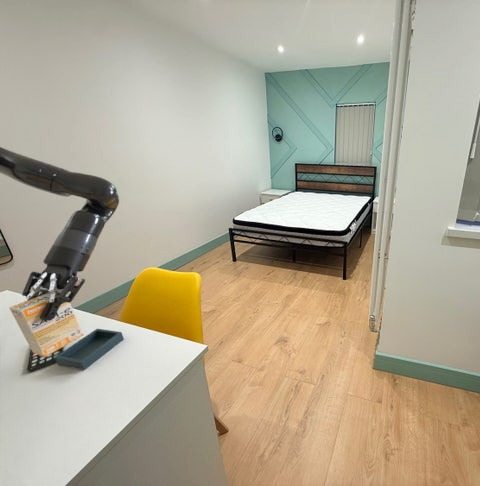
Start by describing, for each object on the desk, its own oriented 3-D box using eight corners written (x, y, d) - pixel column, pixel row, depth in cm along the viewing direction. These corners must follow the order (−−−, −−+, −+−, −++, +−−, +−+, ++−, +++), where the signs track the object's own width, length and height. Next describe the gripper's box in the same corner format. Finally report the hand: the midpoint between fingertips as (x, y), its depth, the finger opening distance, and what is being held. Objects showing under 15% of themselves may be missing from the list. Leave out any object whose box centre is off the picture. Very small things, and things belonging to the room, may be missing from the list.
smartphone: (63, 332, 88) (62, 357, 77) (63, 334, 88) (63, 359, 78) (31, 343, 83) (26, 371, 73) (32, 345, 83) (27, 373, 73)
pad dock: (57, 365, 76) (53, 357, 75) (100, 335, 87) (97, 328, 86) (84, 370, 74) (81, 362, 73) (124, 339, 86) (121, 332, 85)
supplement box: (44, 358, 60) (19, 311, 56) (32, 353, 62) (7, 307, 57) (85, 335, 68) (66, 292, 63) (73, 331, 69) (54, 288, 64)
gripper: (33, 242, 64) (-10, 312, 58) (80, 246, 61) (41, 320, 55) (65, 253, 71) (30, 317, 64) (109, 257, 68) (77, 324, 62)
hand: (35, 318), depth 60 cm, fingers closed on supplement box, 5 cm apart
